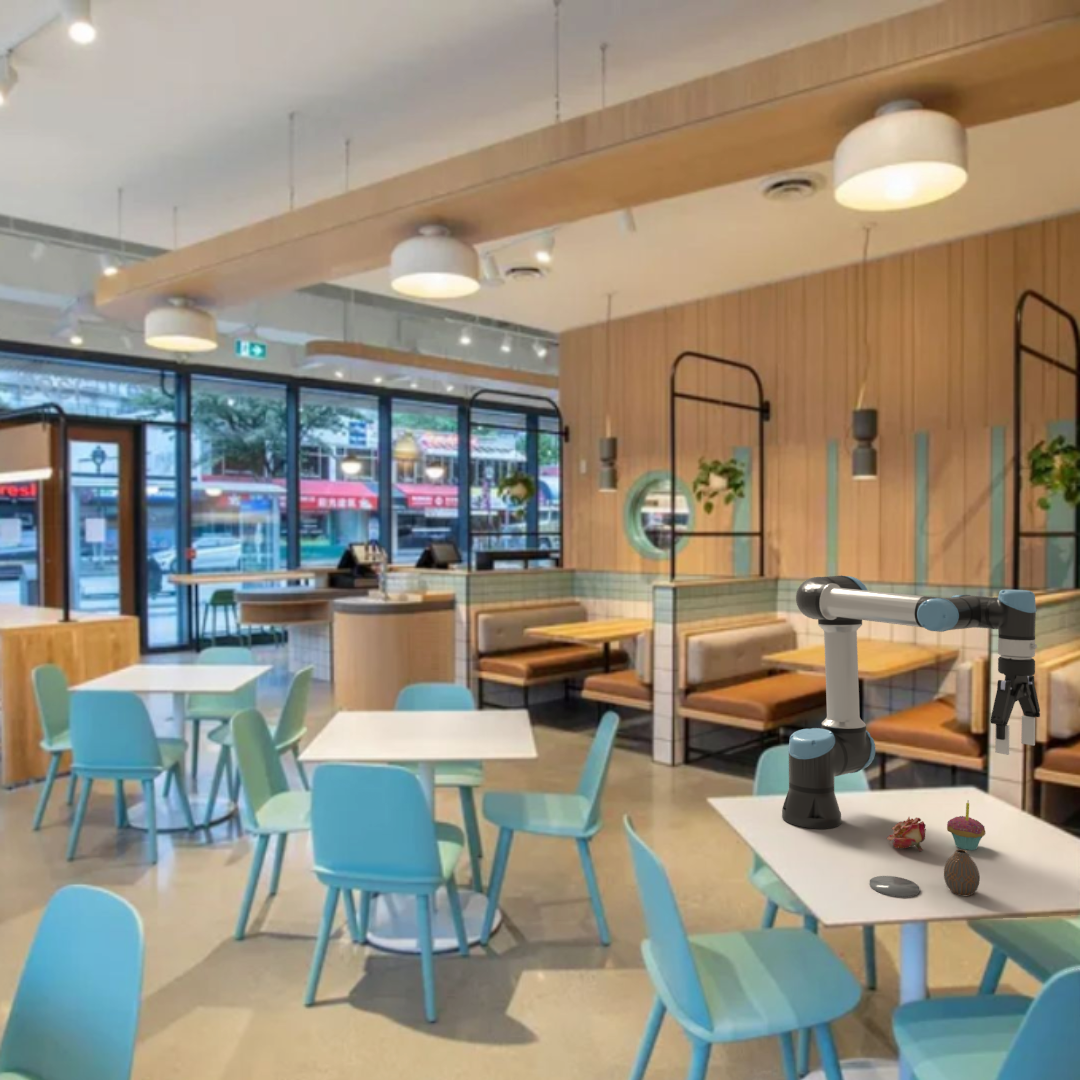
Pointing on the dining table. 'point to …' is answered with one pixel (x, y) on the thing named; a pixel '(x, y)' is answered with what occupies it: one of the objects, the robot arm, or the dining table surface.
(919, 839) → the flower
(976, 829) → the cupcake
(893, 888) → the grey flat disc
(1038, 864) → the dining table surface
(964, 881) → the vase
